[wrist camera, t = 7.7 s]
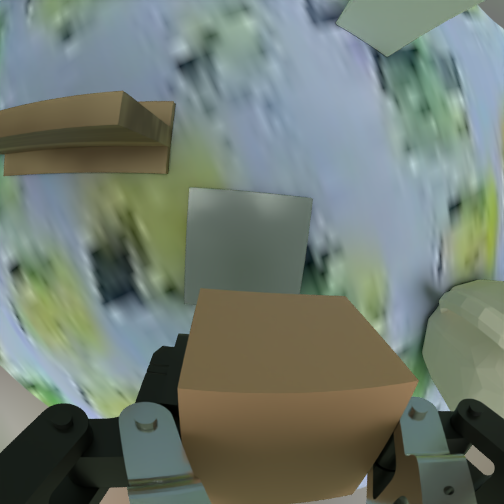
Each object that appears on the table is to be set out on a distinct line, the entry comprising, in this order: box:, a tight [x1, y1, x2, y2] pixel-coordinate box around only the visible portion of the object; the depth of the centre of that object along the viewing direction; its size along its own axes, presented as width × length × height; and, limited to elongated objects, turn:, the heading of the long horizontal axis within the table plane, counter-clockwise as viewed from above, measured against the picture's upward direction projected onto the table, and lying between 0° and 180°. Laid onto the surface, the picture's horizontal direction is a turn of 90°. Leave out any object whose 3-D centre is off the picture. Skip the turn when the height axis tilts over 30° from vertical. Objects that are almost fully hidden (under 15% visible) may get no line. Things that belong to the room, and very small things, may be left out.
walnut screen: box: [0, 91, 176, 176], centre depth 16 cm, size 6×18×12 cm, turn 84°
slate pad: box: [184, 187, 313, 305], centre depth 25 cm, size 10×10×1 cm
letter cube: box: [177, 288, 419, 504], centre depth 8 cm, size 5×5×5 cm
